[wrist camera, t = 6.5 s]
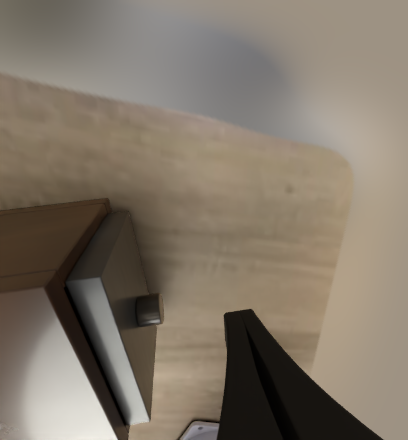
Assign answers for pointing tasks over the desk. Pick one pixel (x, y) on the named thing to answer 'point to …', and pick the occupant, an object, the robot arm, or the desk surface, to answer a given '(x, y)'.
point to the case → (49, 330)
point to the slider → (118, 314)
